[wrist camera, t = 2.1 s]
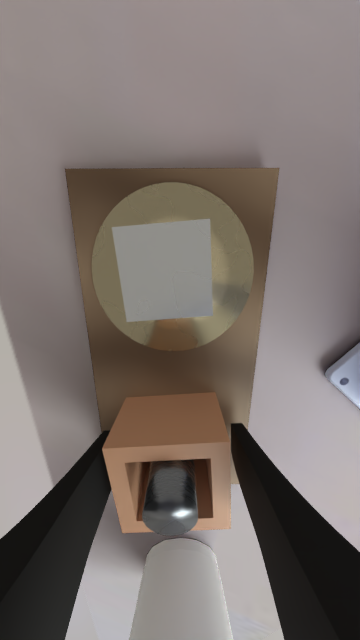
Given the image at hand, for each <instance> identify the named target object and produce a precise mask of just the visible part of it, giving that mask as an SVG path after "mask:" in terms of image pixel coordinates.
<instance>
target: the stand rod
mask: <svg viewBox="0 0 360 640" xmlns="http://www.w3.org/2000/svg"><path fill="white" fill-rule="evenodd" d="M142 519H143V522H144V524H145V525H146V526H147V527H148V528H149V529H150V530H152V531H153V532H155V533H158V534H161V535H167V536H174V535H180V534H184V533H186V532H188V531H190V530H191V529H192V528H193V527H194V526H195V525H196V523H197V521H198V508H197V494H196V480H195V466H194V459H188V460H168V461H151V465H150V471H149V477H148V483H147V489H146V495H145V501H144V507H143V513H142Z"/></svg>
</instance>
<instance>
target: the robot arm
mask: <svg viewBox="0 0 360 640" xmlns="http://www.w3.org/2000/svg"><path fill="white" fill-rule="evenodd" d="M325 377H326V378H327V379H328V380H329V381H330V382H331V383H332V384H333V385H334V386H335V387H336V388H337V389H338V390H340V391H341V392H342V393H343V394H344V395H345V396H346V397H347V398H348V399H349V400H350V401H351V402H352V403H354V404H355V405H356V406H357V407H358V408H359V409H360V343H358V344H357V345H356V346H355V347H354V348H352V349H351V350H350V351H349V352H348V353H346V354H345V355H344V356H343V357H341V358H340V359H339V360H338V361H337V362H335V363H334V364H333V365H332V366H331V367H329V368H328V369H327V371H326V373H325ZM110 431H111V430H105V431H103V432H102V434H101V435H100V436H99V437H98V438H97V439H96V440H95V442H94V443H93V444H92V445H91V446H90V448H89V449H88V450H87V451H86V452H85V453H84V454H83V456H82V457H81V458H80V459H79V460H78V461H77V462H76V464H75V465H74V466H73V467H72V468H71V469H70V470H69V471H68V473H67V474H66V475H65V476H64V477H63V478H62V479H61V480H60V481H59V482H58V483H57V484H56V485H55V487H54V488H53V489H52V490H51V491H50V492H49V493H48V494H47V495H46V496H45V497H44V498H43V499H42V500H41V501H40V502H39V503H38V504H37V505H36V506H35V507H34V508H33V509H32V510H31V511H30V512H29V513H28V514H27V515H26V516H25V517H24V518H23V519H22V520H21V521H20V522H19V523H18V524H17V525H16V526H14V527H13V528H12V529H11V530H10V531H9V532H8V533H7V534H6V535H5V536H4V537H2V538H1V539H0V640H65V637H66V633H67V629H68V626H69V622H70V618H71V614H72V611H73V607H74V604H75V600H76V596H77V592H78V589H79V586H80V582H81V579H82V575H83V572H84V568H85V565H86V561H87V558H88V555H89V552H90V548H91V545H92V542H93V539H94V537H95V534H96V531H97V528H98V525H99V522H100V520H101V517H102V514H103V511H104V508H105V505H106V503H107V500H108V497H109V494H110V491H111V484H110V480H109V476H108V471H107V467H106V463H105V459H104V455H103V451H102V448H103V446H104V443H105V441H106V439H107V437H108V435H109V433H110ZM231 454H232V458H233V462H234V466H235V470H236V474H237V478H238V481H239V484H240V487H241V490H242V493H243V496H244V499H245V502H246V505H247V508H248V511H249V514H250V517H251V520H252V523H253V526H254V529H255V532H256V535H257V538H258V542H259V545H260V548H261V552H262V556H263V559H264V563H265V567H266V570H267V574H268V578H269V582H270V585H271V589H272V593H273V597H274V601H275V605H276V609H277V612H278V616H279V620H280V624H281V628H282V632H283V636H284V640H360V552H359V551H358V550H357V549H356V548H355V547H354V546H353V545H351V544H350V543H349V542H348V541H347V540H346V539H345V538H344V537H343V536H342V535H341V534H340V533H339V532H337V531H336V530H335V529H334V528H333V527H332V526H331V525H330V524H329V523H328V522H327V521H326V520H325V519H324V518H323V517H322V516H321V515H320V514H319V513H318V512H317V511H316V510H315V509H314V508H313V507H312V506H311V505H310V504H309V503H308V502H307V501H306V500H305V498H304V497H303V496H302V495H301V494H300V493H299V492H298V491H297V490H296V489H295V488H294V487H293V486H292V484H291V483H290V482H289V481H288V480H287V479H286V478H285V477H284V475H283V474H282V473H281V472H280V471H279V470H278V468H277V467H276V466H275V465H274V464H273V463H272V461H271V460H270V459H269V458H268V456H267V455H266V454H265V453H264V452H263V450H262V449H261V448H260V446H259V445H258V444H257V443H256V441H255V440H254V439H253V437H252V436H251V435H250V433H249V432H248V430H247V429H246V428H245V426H244V425H243V424H242V423H231Z"/></svg>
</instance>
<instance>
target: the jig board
mask: <svg viewBox="0 0 360 640" xmlns="http://www.w3.org/2000/svg"><path fill="white" fill-rule="evenodd" d="M65 172H66V179H67V187H68V194H69V201H70V208H71V215H72V223H73V230H74V237H75V244H76V251H77V259H78V266H79V273H80V280H81V287H82V295H83V302H84V309H85V316H86V323H87V330H88V338H89V345H90V352H91V359H92V366H93V374H94V381H95V388H96V395H97V402H98V410H99V417H100V424H101V431H102V432H103V431H105V430H111V428H112V426H113V424H114V422H115V420H116V418H117V416H118V413H119V411H120V409H121V407H122V405H123V403H124V401H125V399H126V397H142V396H159V395H175V394H192V393H208V392H215V393H216V396H217V399H218V402H219V406H220V409H221V412H222V416H223V419H224V422H225V426H226V429H227V432H228V436H229V439H230V461H231V484H239V481H238V478H237V474H236V470H235V466H234V462H233V458H232V454H231V423H242V424H243V425H244V426H245V428H246V429H247V430H248V422H249V413H250V405H251V397H252V389H253V381H254V372H255V364H256V356H257V348H258V339H259V331H260V323H261V315H262V307H263V298H264V290H265V282H266V274H267V265H268V257H269V249H270V241H271V233H272V224H273V216H274V208H275V200H276V191H277V183H278V175H279V168H141V169H65ZM164 182H178V183H185V184H190V185H194V186H197V187H200V188H202V189H205V190H207V191H209V192H211V193H212V194H214V195H215V196H217V197H218V198H220V199H221V200H222V201H223V202H225V203H226V204H227V205H228V206H229V207H230V208H231V209H232V211H233V212H234V213H235V214H236V215H237V217H238V218H239V220H240V221H241V223H242V225H243V226H244V228H245V231H246V233H247V235H248V238H249V241H250V244H251V248H252V254H253V263H254V273H253V282H252V287H251V291H250V294H249V297H248V300H247V302H246V304H245V306H244V308H243V310H242V312H241V313H240V315H239V316H238V318H237V319H236V321H235V322H234V323H233V324H232V325H231V326H230V327H229V328H228V329H227V330H226V331H225V332H224V333H223V334H221V335H220V336H219V337H217V338H216V339H214V340H212V341H211V342H209V343H207V344H205V345H202V346H199V347H197V348H193V349H189V350H182V351H165V350H158V349H154V348H150V347H148V346H145V345H142V344H140V343H138V342H136V341H134V340H132V339H131V338H130V337H128V336H127V335H125V334H124V333H123V332H122V331H120V330H119V329H118V328H117V327H116V326H115V325H114V324H113V322H112V321H111V320H110V319H109V317H108V316H107V315H106V313H105V312H104V310H103V308H102V306H101V304H100V302H99V300H98V297H97V295H96V291H95V288H94V284H93V277H92V254H93V248H94V244H95V240H96V237H97V235H98V232H99V230H100V227H101V226H102V224H103V222H104V220H105V219H106V217H107V216H108V215H109V213H110V212H111V211H112V209H113V208H114V207H115V206H116V205H117V204H118V203H119V202H120V201H122V200H123V199H124V198H126V197H127V196H128V195H130V194H131V193H133V192H135V191H137V190H139V189H141V188H144V187H147V186H150V185H153V184H159V183H164Z"/></svg>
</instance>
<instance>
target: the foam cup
mask: <svg viewBox="0 0 360 640" xmlns="http://www.w3.org/2000/svg"><path fill="white" fill-rule="evenodd" d="M129 640H233V636H232V631H231V626H230V621H229V616H228V611H227V606H226V601H225V597H224V592H223V587H222V582H221V577H220V572H219V568H218V567H217V560H216V555H215V554H214V552H213V551H212V550H211V548H210V547H209V546H207V545H205V544H203V543H201V542H199V541H198V540H193V539H186V538H175V539H169V540H164V541H162V542H160V543H158V544H157V545H155V546H153V547H152V548H151V550H150V551H149V553H148V554H147V557H146V565H145V567H144V570H143V575H142V580H141V584H140V589H139V594H138V599H137V604H136V609H135V614H134V618H133V623H132V628H131V633H130V638H129Z"/></svg>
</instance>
